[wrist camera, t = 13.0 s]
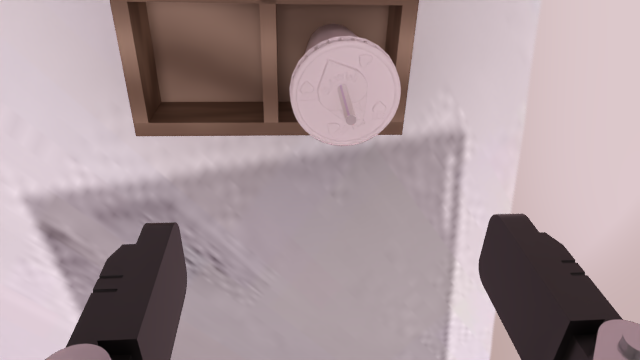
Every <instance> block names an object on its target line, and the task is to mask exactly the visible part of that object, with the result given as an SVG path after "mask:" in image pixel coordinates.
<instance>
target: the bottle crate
mask: <svg viewBox="0 0 640 360" xmlns="http://www.w3.org/2000/svg"><path fill="white" fill-rule="evenodd" d="M418 3H419V0H110V4H111V10H112V15H113V20H114V25H115V30H116V35H117V40H118V46H119V51H120V56H121V61H122V66H123V71H124V76H125V81H126V87H127V92H128V97H129V102H130V107H131V112H132V117H133V123H134V128H135V133H136V136H250V135H309V134H308V133H307V132H306V131H305V130H304V129H303V128H302V127H301V125H300V124H299V123H298V121H297V119H296V117H295V115H294V112H293V109H292V105H291V102H290V89H289V87H290V82H291V77H292V73H293V71H294V69H295V67H296V65H297V63H298V61H299V60H300V59H301V58H302V57H303V56H304V54H305V51H306V48H307V45H308V42H309V39H310V37H311V36H312V34H313V33H314V32H315V31H316V30H317V29H318V28H320V27H322V26H324V25H327V24H339V25H342V26H344V27H346V28H347V29H349V30H350V31H351V32H352V33H354V34H355V35H356V36H358V37H360V38H365V39H367V40H369V41H371V42H373V43H375V44H377V45H379V46H380V47H381V48H382V49H383V50H384V51H385V52H386V53H387V54H388V55H389V56H390V58H391V60H392V62H393V64H394V65H395V67H396V70H397V73H398V76H399V80H400V86H401V95H400V102H399V105H398V108H397V111H396V113H395V115H394V117H393V118H392V120H391V122H390V123H389V124H388V125H387V126H386V127H385V128H384V130H382V131H381V132H380V133H379V134H377V135H402V130H403V122H404V114H405V106H406V98H407V90H408V82H409V75H410V67H411V59H412V51H413V43H414V35H415V27H416V19H417V11H418Z"/></svg>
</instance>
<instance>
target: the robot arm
mask: <svg viewBox="0 0 640 360" xmlns="http://www.w3.org/2000/svg"><path fill="white" fill-rule="evenodd" d="M479 274H480V279H481V282H482V284H483V286H484V288H485V290H486V292H487V294H488V296H489V298H490V300H491V302H492V304H493V305H494V307H495V309H496V311H497V313H498V315H499V317H500V319H501V321H502V323H503V325H504V327H505V329H506V330H507V332H508V335H509V336H510V338H511V340H512V342H513V344H514V346H515V348H516V350H517V352H518V354H519V356H520V358H521V360H640V324H638V323H634V322H631V321H626V320H623V319H622V318H621V317H620V316H619V314H618V313H617V312H616V311H615V309H614V308H613V307H612V306H611V304H610V303H609V302H608V301H607V300H606V298H605V297H604V296H603V294H602V293H601V292H600V291H599V289H598V288H597V287H596V286H595V284H594V283H593V282H592V281H591V279H590V278H589V277H588V276H585V272H584V271H583V269H582V268H581V267H580V266H579V265H578V263H575V259H574V258H573V257H572V256H571V254H570V253H569V252H568V251H567V249H566V248H565V247H564V246H563V245H562V244H561V243H559V242H558V241H557V240H555V239H554V238H552V237H551V236H549V235H548V234H547V233H545V232H544V233H539V232H538V230H537V229H536V228H535V226H534V225H533V224H532V222H531V221H530V220H529V218H528V217H527V216H526V215H524V214H496V215H493V216H492V217H491V218H490V221H489V224H488V228H487V232H486V236H485V239H484V243H483V247H482V251H481V255H480V259H479ZM186 287H187V271H186V264H185V258H184V253H183V247H182V241H181V235H180V230H179V226H178V224H177V223H146V224H145V225H144V226H143V228H142V231H141V233H140V236H139V238H138V241H137V243H136V244H127V245H122V246H121V247H120V248H119V249H118V250H117V251H116V252H114V253H113V254H112V255H111V256H110V257H109V258H108V259H107V261H106V263H105V265H104V267H103V269H102V272H101V274H100V278H99V279H98V280H97V282H96V284H95V286H94V289H93V293H91V295H90V297H89V299H88V301H87V303H86V306H85V308H84V310H83V312H82V314H81V316H80V318H79V321H78V323H77V325H76V327H75V329H74V331H73V333H72V335H71V338H70V340H69V342H68V344H67V346H66V348H64V349H61V350H59V351H57V352H55V353H54V354H52V355H51V356H49V357H48V358H46V359H45V360H170V358H171V354H172V350H173V346H174V341H175V337H176V333H177V328H178V324H179V320H180V316H181V311H182V307H183V303H184V299H185V294H186Z"/></svg>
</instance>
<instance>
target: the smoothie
mask: <svg viewBox="0 0 640 360" xmlns="http://www.w3.org/2000/svg"><path fill="white" fill-rule="evenodd" d="M289 89H290V102H291V105H292V109H293V112H294V115H295V117H296V119H297V121H298V123H299V124H300V125H301V127H302V128H303V129H304V130H305V131H306V132H307V133H308V134H309V135H311V136H312V137H314V138H315V139H317V140H319V141H321V142H324V143H327V144H331V145H338V146H348V145H355V144H359V143H362V142H365V141H367V140H369V139H371V138H373V137H374V136H376V135H377V134H379V133H380V132H381V131H382V130H384V128H385V127H386V126H387V125H388V124H389V123H390V122H391V120H392V118H393V117H394V115H395V113H396V111H397V108H398V105H399V102H400V95H401V86H400V80H399V76H398V73H397V70H396V67H395V65H394V64H393V62H392V60H391V58H390V56H389V55H388V54H387V53H386V52H385V51H384V50H383V49H382V48H381V47H380V46H379V45H377V44H375V43H373V42H371V41H369V40H367V39H365V38H360V37H358V36H356V35H355V34H354V33H352V32H351V31H350V30H349V29H347V28H346V27H344V26H342V25H339V24H327V25H324V26H322V27H320V28H318V29H317V30H316V31H315V32H314V33H313V34H312V36H311V37H310V39H309V42H308V45H307V48H306V51H305V54H304V56H303V57H302V58H301V59H300V60H299V61H298V63H297V65H296V67H295V69H294V71H293V73H292V77H291V82H290V87H289Z"/></svg>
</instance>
